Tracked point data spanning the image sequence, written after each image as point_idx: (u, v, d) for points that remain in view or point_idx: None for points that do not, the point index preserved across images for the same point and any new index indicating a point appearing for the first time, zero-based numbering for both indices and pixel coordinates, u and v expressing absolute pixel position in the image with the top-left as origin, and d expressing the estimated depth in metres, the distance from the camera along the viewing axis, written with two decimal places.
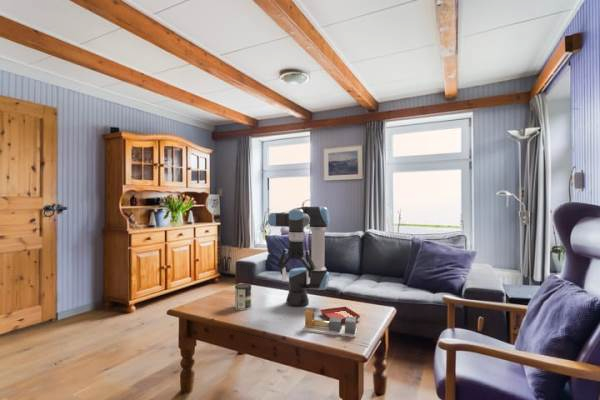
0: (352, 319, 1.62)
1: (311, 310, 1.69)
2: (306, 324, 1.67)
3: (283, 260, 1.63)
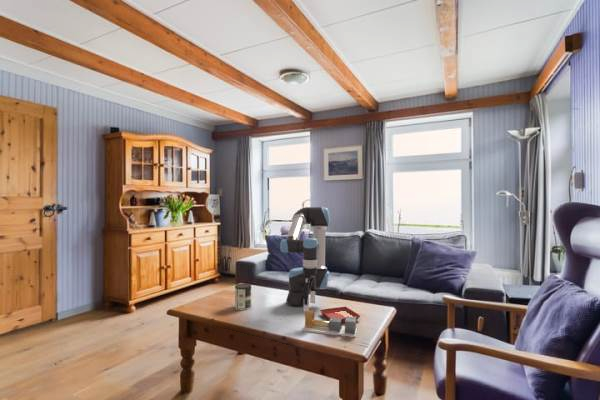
0: (352, 319, 1.62)
1: (311, 310, 1.69)
2: (306, 324, 1.67)
3: (314, 284, 1.76)
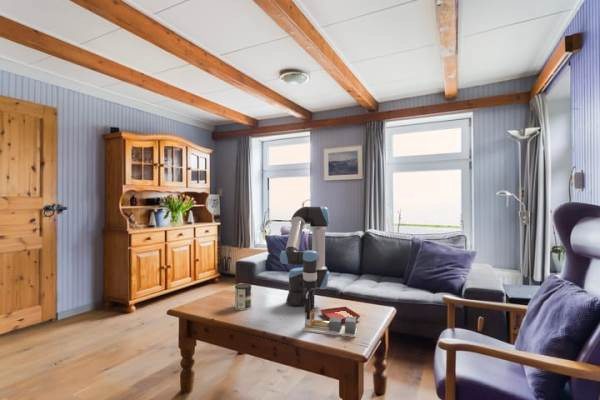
0: (352, 319, 1.62)
1: (311, 310, 1.69)
2: None
3: (313, 300, 1.73)
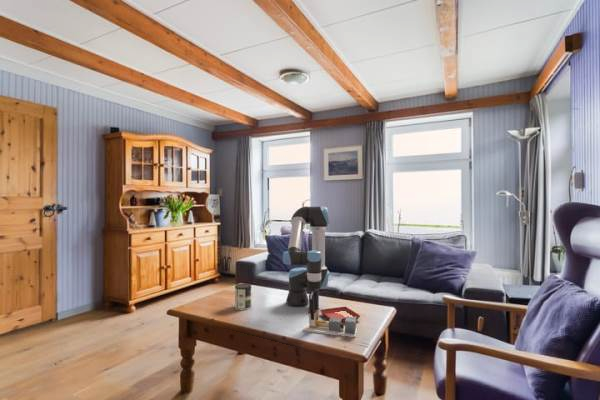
0: (352, 319, 1.62)
1: (315, 310, 1.68)
2: (310, 325, 1.67)
3: (317, 301, 1.72)
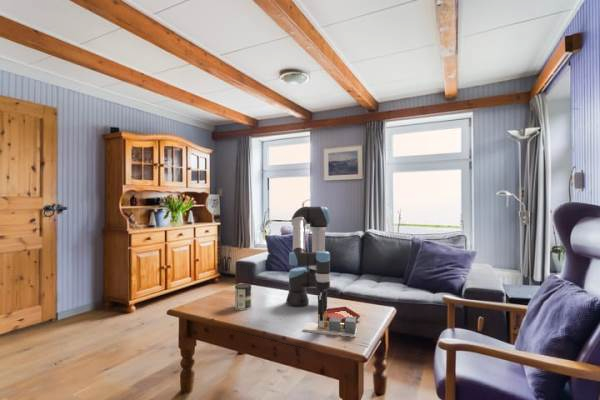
0: (352, 319, 1.62)
1: (324, 311, 1.67)
2: (319, 326, 1.65)
3: (326, 301, 1.71)
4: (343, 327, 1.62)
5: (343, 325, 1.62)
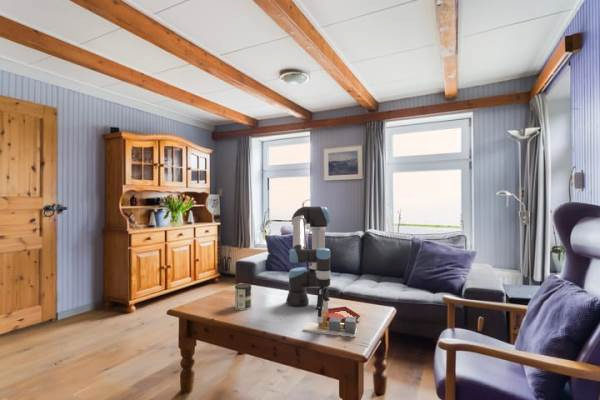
0: (352, 319, 1.62)
1: (324, 311, 1.67)
2: (319, 326, 1.65)
3: (327, 294, 1.74)
4: (343, 327, 1.62)
5: (343, 325, 1.62)
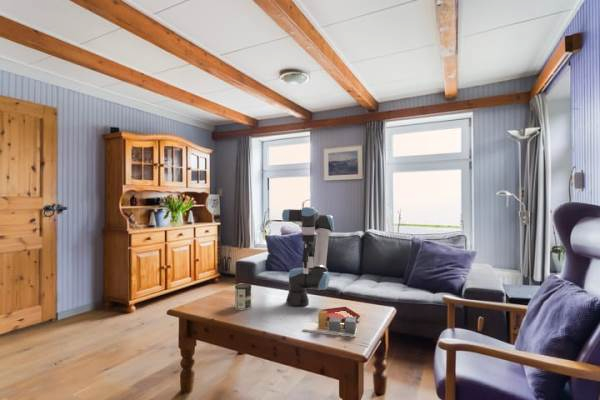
0: (352, 319, 1.62)
1: (324, 311, 1.67)
2: (319, 326, 1.65)
3: (312, 250, 1.89)
4: (343, 327, 1.62)
5: (343, 325, 1.62)
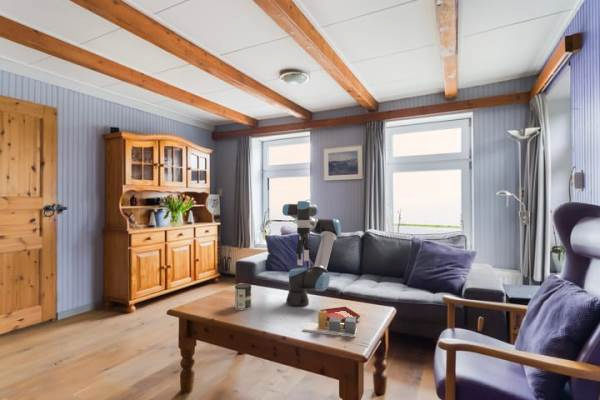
0: (352, 319, 1.62)
1: (324, 311, 1.67)
2: (319, 326, 1.65)
3: (308, 243, 1.93)
4: (343, 327, 1.62)
5: (343, 325, 1.62)
